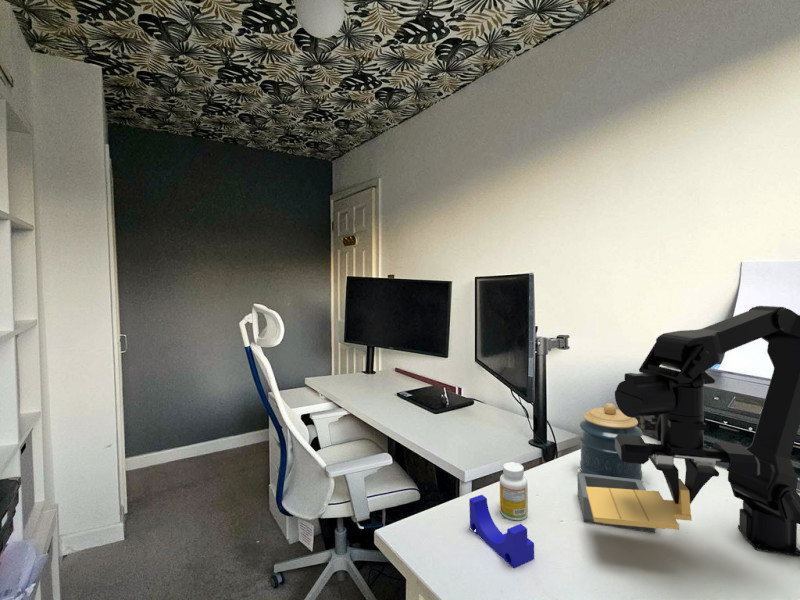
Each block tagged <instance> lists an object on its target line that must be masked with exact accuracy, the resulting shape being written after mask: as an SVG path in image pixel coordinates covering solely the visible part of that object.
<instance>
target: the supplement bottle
mask: <svg viewBox="0 0 800 600" xmlns="http://www.w3.org/2000/svg"><path fill="white" fill-rule="evenodd" d="M502 468H503V469H502V471H503V472H502V474H501V475H500V477H499V506H500V507H499V509H500V513H501V515H502V516H503V517H504V518H506V519H508V520H511V521H523V520H525V519H527V517H528V515H529V508H528V507H529V506H528V504H529V501H528V500H529V499H528V492H529V491H528V480H527V477H526V476H524V474H525V472H524V469H525V468H524V466H523V465H522V464H521V463H518V462H513V461H511V462H509V461H508V462H506V463H504V464H503V465H502Z"/></svg>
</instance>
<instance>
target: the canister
mask: <svg viewBox="0 0 800 600" xmlns="http://www.w3.org/2000/svg"><path fill="white" fill-rule="evenodd" d="M583 418H584V419H583V420H582V421H581V422H580V423H579V427H580V429H581V435H580V437H579V441H580V460H579V467H580V471H581V472H580V473H585V474H593V475H602V476H611V477H619V478H628V479H637V480H641V481H642V480H643V470H642V464H636V463H627V462H624V461H621V459H620V457H619V455H618V453H617V451H616V449H615V438H616V436H617V435H618V434H625V435H637V436H641V437H642V436H643V430H642V429H641V428H640V427H638V424H639V420H638V419H637V418H636V417H635V418H631V417H627V416H626V415H624V414H623V413H622V412H621V411H620V409H619V408H618V409H617V407H616V405H615V404H614V403H611V402H607V403H606V404H604V406H603V407H595V408H591V409H590V410H589V411H586V412H584V413H583Z"/></svg>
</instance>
